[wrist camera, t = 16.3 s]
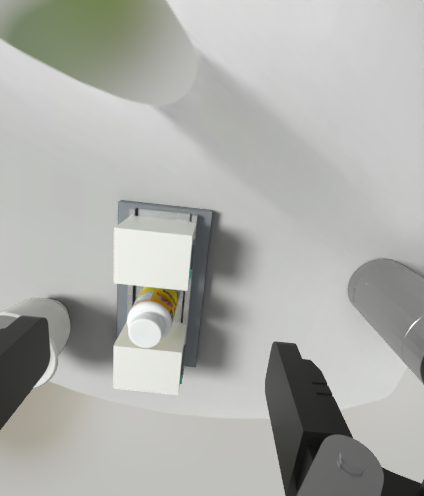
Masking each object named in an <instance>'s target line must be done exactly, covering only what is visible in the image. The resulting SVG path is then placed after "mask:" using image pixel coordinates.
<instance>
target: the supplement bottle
mask: <svg viewBox="0 0 424 496" xmlns="http://www.w3.org/2000/svg"><path fill="white" fill-rule="evenodd" d="M178 298H179V296H178V291H177V290H173V289H164V288H154V287H145V286H144V287H143V289H142V290H141V292H140V294H139V296H138V297H137V299H136V301H135V303H134V305H133V306H132V308H131V310H130V312H129V314H128V317H127V325H128V328H129V329H128V335H129V338H130V340H131V341H132V342H133V343H134V344H135V345H137V346H139V347H142V348H150V347H153V346H155V345H157V344H158V343H159V342H160V340H161V339H163V338H164V337H166V336H167V334H168V333H169V331H170V329H171V326H172V322H173V318H174V315H175V311H176V307H177V304H178Z"/></svg>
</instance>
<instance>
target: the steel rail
mask: <svg viewBox="0 0 424 496" xmlns="http://www.w3.org/2000/svg"><path fill="white" fill-rule="evenodd" d="M129 216H134V217H135V216H137V207H131V208H130V209H129ZM138 216H143V217H152V218H162V219H171V220H180V221H189V222H190V213H183V212H173V211H164V210H155V209H146V208H139V209H138ZM197 218H198V214H192V222H191V223H196V228H197ZM195 239H196V231H195ZM191 282H192V277H191V278H190V282H189V286H188V291H185V302H184V313H183V325H185V326H187V325H188V314H189V304H190V293H191ZM143 287H144V286H136V299H137V297H138V296H139V294H140V292H141V290H142V289H143ZM177 291H178V296H179V298H178V304H177V307H176V311H175V315H174V318H173V322H178V323H181V317H182V305H183V293H184V291H183V290H177ZM134 301H135V285H128V304H127V317H128V314H129V312H130V310H131V308H132V306H133V305H134ZM186 336H187V328H186ZM185 345H186V339H185Z"/></svg>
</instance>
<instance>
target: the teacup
mask: <svg viewBox="0 0 424 496" xmlns="http://www.w3.org/2000/svg"><path fill="white" fill-rule="evenodd" d="M22 315H25V316H35V317H45V318H46V319H47V320H48V326H49V339H50V353H51V356H50V362H49V365H48V368H47V370H46V372H45V373H44V375H43V376H42V377H41V379H40V380H39V381H38V382H37V384H36V385H35V386H34V387H33V388H36V387H39V386H41V385H43V384H45V383H46V382H48V381H49V380H50V379H51V378H52V377H53V375H54V374H55V372H56V370H57V366H58V357H59V355H60V353H61V351H62V350H63V348H64V346H65V344H66V342H67V340H68V338H69V335H70V329H71V326H70V320H69V313H68V311H67V309H66V307H65V306H64V305H63V304H62V303H60V302H59V301H57V300H54V299H44V298H30V299H27V300H24V301H21V302H19V303H17V304H15V305H13V306H11V307H9V308H7V309H6V310H4V311H2V312H0V329H2V328H6V327H8V326H9V325H10V324H11V323H12V322H14V321H15V320H16V319H17V318H18V317H20V316H22Z"/></svg>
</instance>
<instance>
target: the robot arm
mask: <svg viewBox="0 0 424 496" xmlns="http://www.w3.org/2000/svg"><path fill="white" fill-rule="evenodd" d="M348 296H349V299H350V301H351V303H352V304H353V305H354V307H355V308H356V309H357V310H358V311H359V312H360V313H361V314H362V316H363V317H364V318H365V319H366V320H367V321H368V322H369V324H370V325H371V326H372V327H373V328H374V329H375V330H376V331H377V333H378V334H379V335H380V336H381V337H382V338H383V339H384V340H385V342H386V343H387V344H388V345H389V346H390V347H391V348H392V349H393V351H394V352H395V353H396V354H397V355H398V356H399V357H400V358H401V360H402V361H403V362H404V363H405V364H406V365H407V366H408V367H409V369H411V371H412V372H413V373H414V374H415V375H416V376H417V377H418V378H419V380H420V381H421V382H422V383H423V384H424V278H423V277H421V276H420V275H418V274H416V273H415V272H413V271H411V270H410V269H408V268H406V267H405V266H403V265H401V264H400V263H398V262H396V261H393V260H390V259H377V260H373V261H370V262H368V263H366V264H364V265H363V266H361V267H360V268H359V269H358V270H357V271H356V272H355V273H354V274H353V276H352V277H351V279H350V282H349V286H348ZM50 356H51V353H50V339H49V326H48V320H47V319H46V318H45V317H35V316H25V315H22V316H20V317H18V318H17V319H16V320H15V321H14V322H12V323H11V324H10V325H9V326H8V327H6V328H2V329H0V430H1V428H2V427H3V426H4V425H5V423H6V422H7V421H8V419H9V418H10V417H11V416H12V414H13V413H14V412H15V411H16V409H17V408H18V407H19V405H20V404H21V403H22V402H23V400H24V399H25V398H26V396H27V395H28V394H29V393H30V391H31V390H32V389H33V387H34V386H35V385H36V384H37V382H38V381H39V380H40V379H41V377H42V376H43V375H44V373H45V372H46V370H47V368H48V365H49V362H50ZM265 394H266V400H267V405H268V410H269V415H270V420H271V425H272V430H273V434H274V440H275V445H276V450H277V455H278V460H279V465H280V469H281V475H282V480H283V485H284V489H285V495H286V496H424V480H423V482H422V484H420V483H418V482H416V481H413V480H410V479H408V478H405V477H403V476H400V475H398V474H395V473H393V472H390V471H388V470H386V469H384V468H382V467H381V465H380V463H379V461H378V460H377V458H376V457H375V456H374V454H373V453H372V452H371V451H370V450H369V449H368V448H367V447H365V446H364V445H363V444H361V443H360V442H359V441H357V440H355V439H353V437H352V435H351V433H350V431H349V429H348V426H347V424H346V422H345V420H344V418H343V416H342V414H341V412H340V409H339V407H338V405H337V403H336V401H335V399H334V397H332V393H331V390H330V388H329V386H327V382H326V380H325V378H324V376H323V374H322V372H321V370H320V369H319V368H318V367H317V366H316V365H315V364H314V363H313V362H312V361H311V360H305V359H302V357H301V355H300V352H299V350H298V348H297V345H296V344H294V343H284V342H273V344H272V348H271V353H270V358H269V363H268V368H267V373H266V379H265Z"/></svg>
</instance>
